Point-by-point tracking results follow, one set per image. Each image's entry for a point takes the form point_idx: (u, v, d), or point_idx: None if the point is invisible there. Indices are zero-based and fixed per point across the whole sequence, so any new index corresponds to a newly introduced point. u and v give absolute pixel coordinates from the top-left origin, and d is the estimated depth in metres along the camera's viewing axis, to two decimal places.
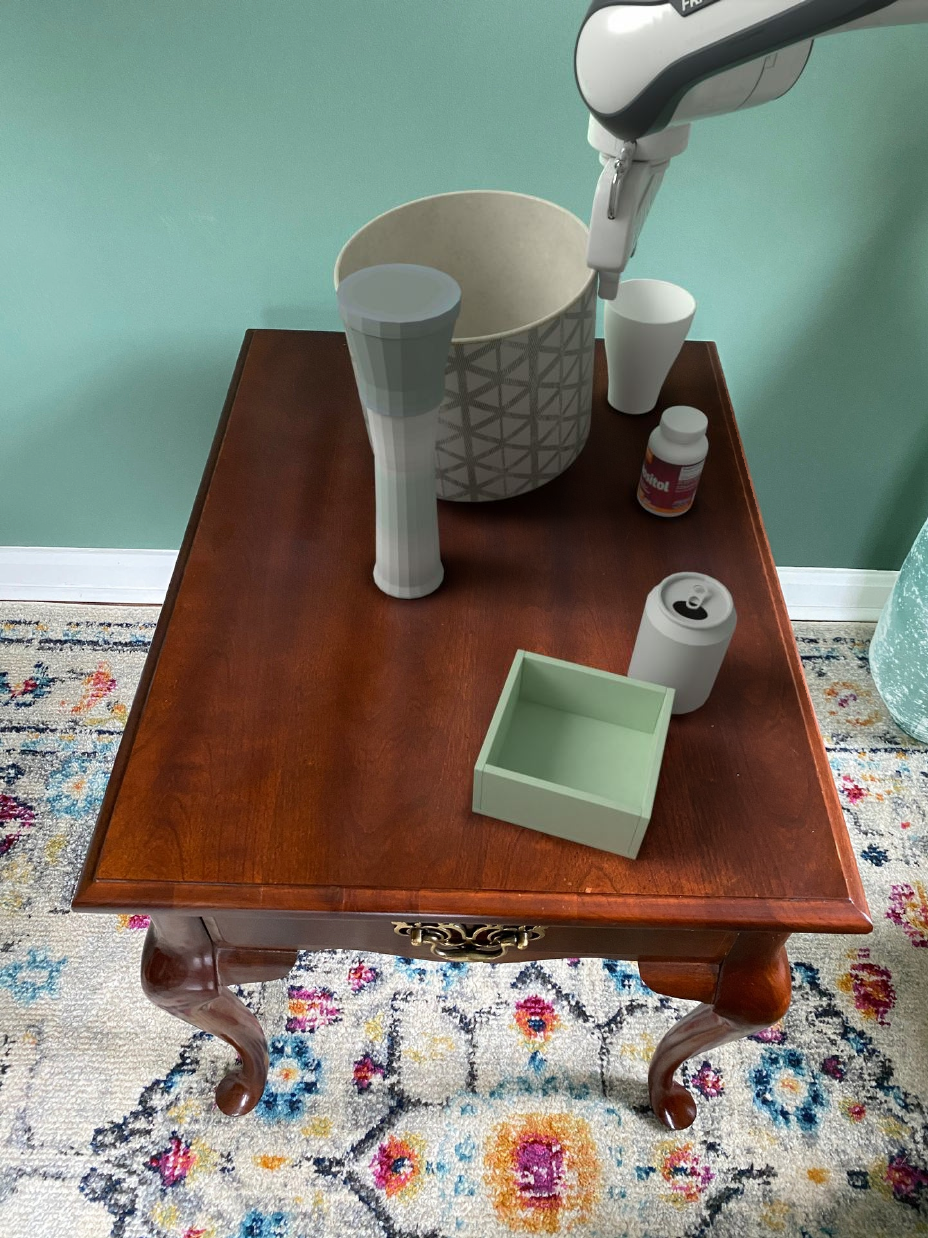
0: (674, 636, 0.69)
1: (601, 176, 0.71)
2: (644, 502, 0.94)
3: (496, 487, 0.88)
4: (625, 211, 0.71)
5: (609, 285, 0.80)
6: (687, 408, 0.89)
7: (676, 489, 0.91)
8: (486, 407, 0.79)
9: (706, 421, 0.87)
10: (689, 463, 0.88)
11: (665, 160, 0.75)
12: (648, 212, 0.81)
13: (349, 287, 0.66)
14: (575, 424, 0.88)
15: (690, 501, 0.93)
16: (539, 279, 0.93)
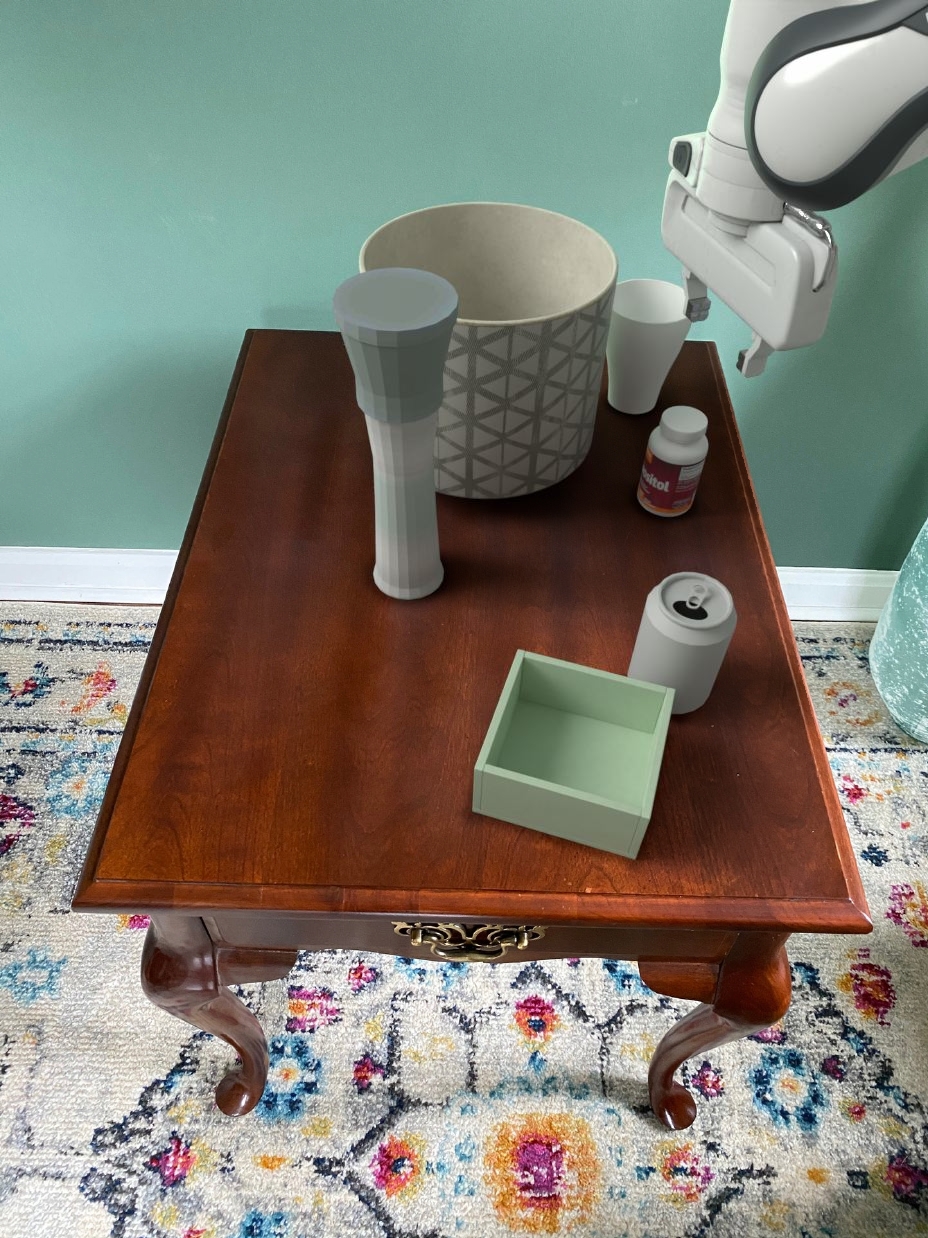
0: (674, 636, 0.69)
1: (793, 248, 0.59)
2: (644, 502, 0.94)
3: (492, 485, 0.88)
4: (831, 278, 0.60)
5: (758, 361, 0.69)
6: (687, 408, 0.89)
7: (676, 489, 0.91)
8: (492, 397, 0.80)
9: (706, 421, 0.87)
10: (689, 463, 0.88)
11: None
12: None
13: (345, 293, 0.65)
14: (577, 434, 0.89)
15: (690, 501, 0.93)
16: (557, 298, 0.95)
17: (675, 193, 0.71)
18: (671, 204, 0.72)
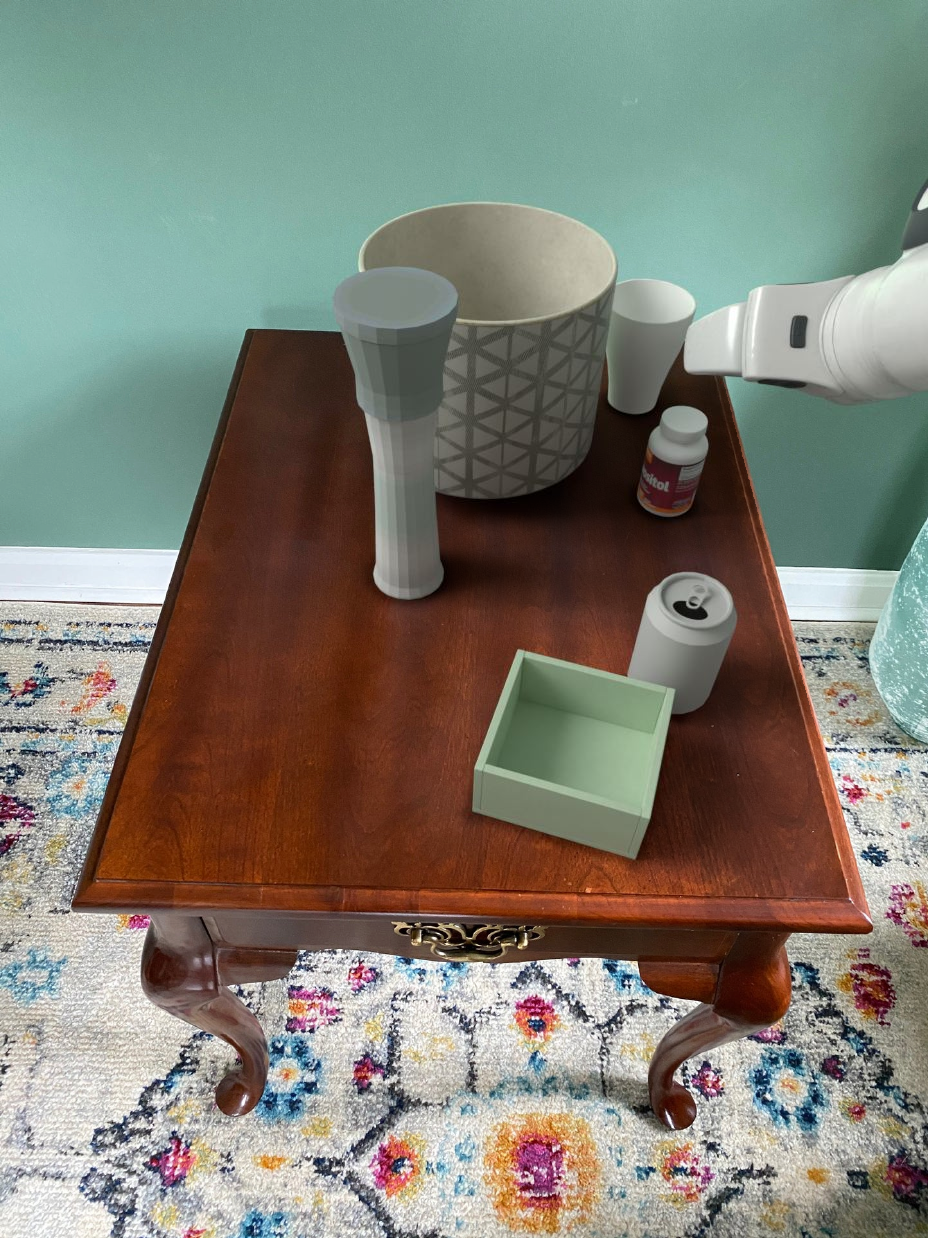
0: (674, 636, 0.69)
1: None
2: (644, 502, 0.94)
3: (492, 485, 0.88)
4: None
5: None
6: (687, 408, 0.89)
7: (676, 489, 0.91)
8: (492, 397, 0.80)
9: (706, 421, 0.87)
10: (689, 463, 0.88)
11: None
12: None
13: (345, 292, 0.65)
14: (577, 434, 0.88)
15: (690, 501, 0.93)
16: (557, 298, 0.95)
17: None
18: None
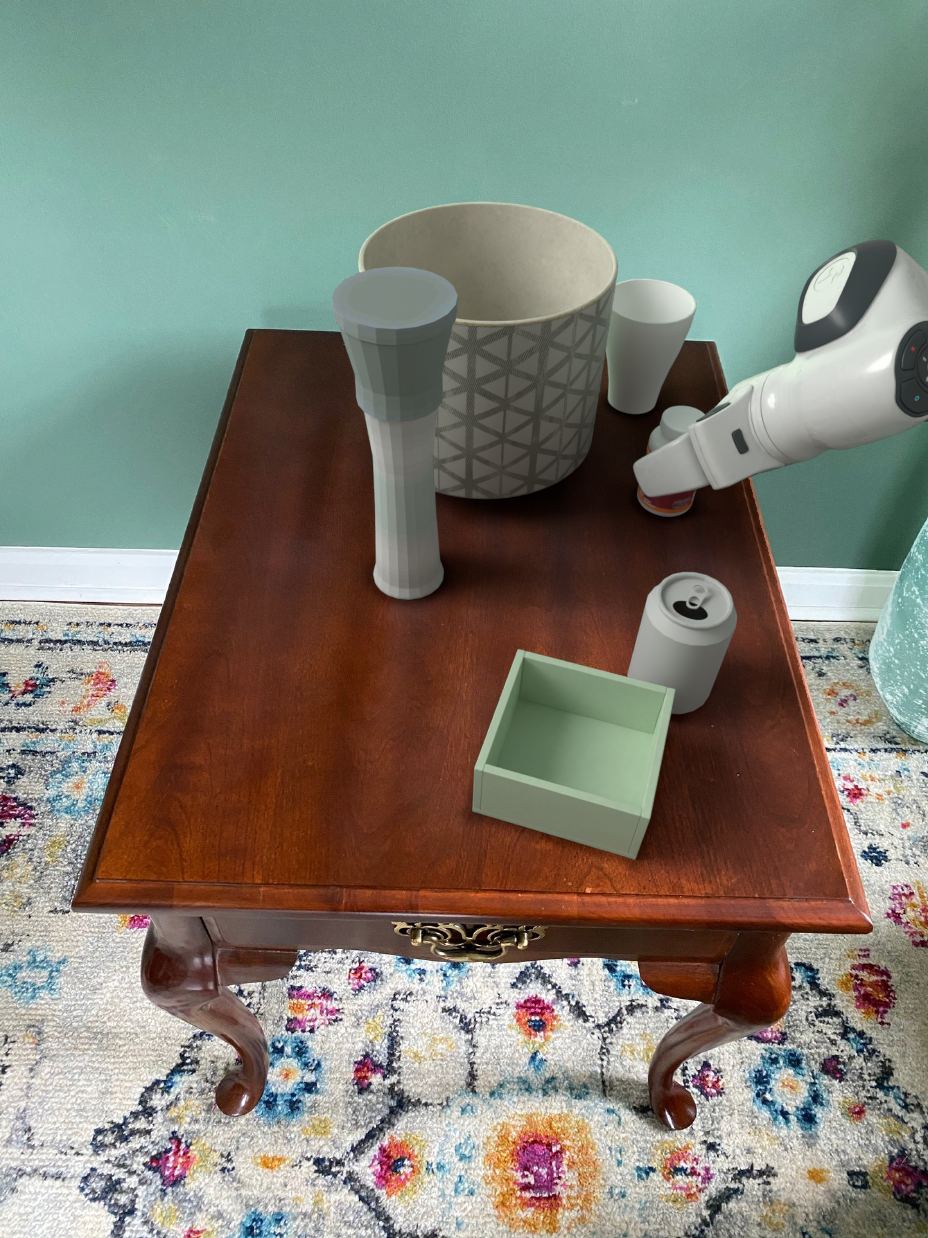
0: (674, 636, 0.69)
1: None
2: (644, 502, 0.94)
3: (491, 485, 0.88)
4: None
5: None
6: (687, 407, 0.89)
7: None
8: (492, 397, 0.80)
9: None
10: None
11: None
12: None
13: (345, 292, 0.65)
14: (577, 434, 0.88)
15: (690, 501, 0.93)
16: (557, 297, 0.95)
17: None
18: None
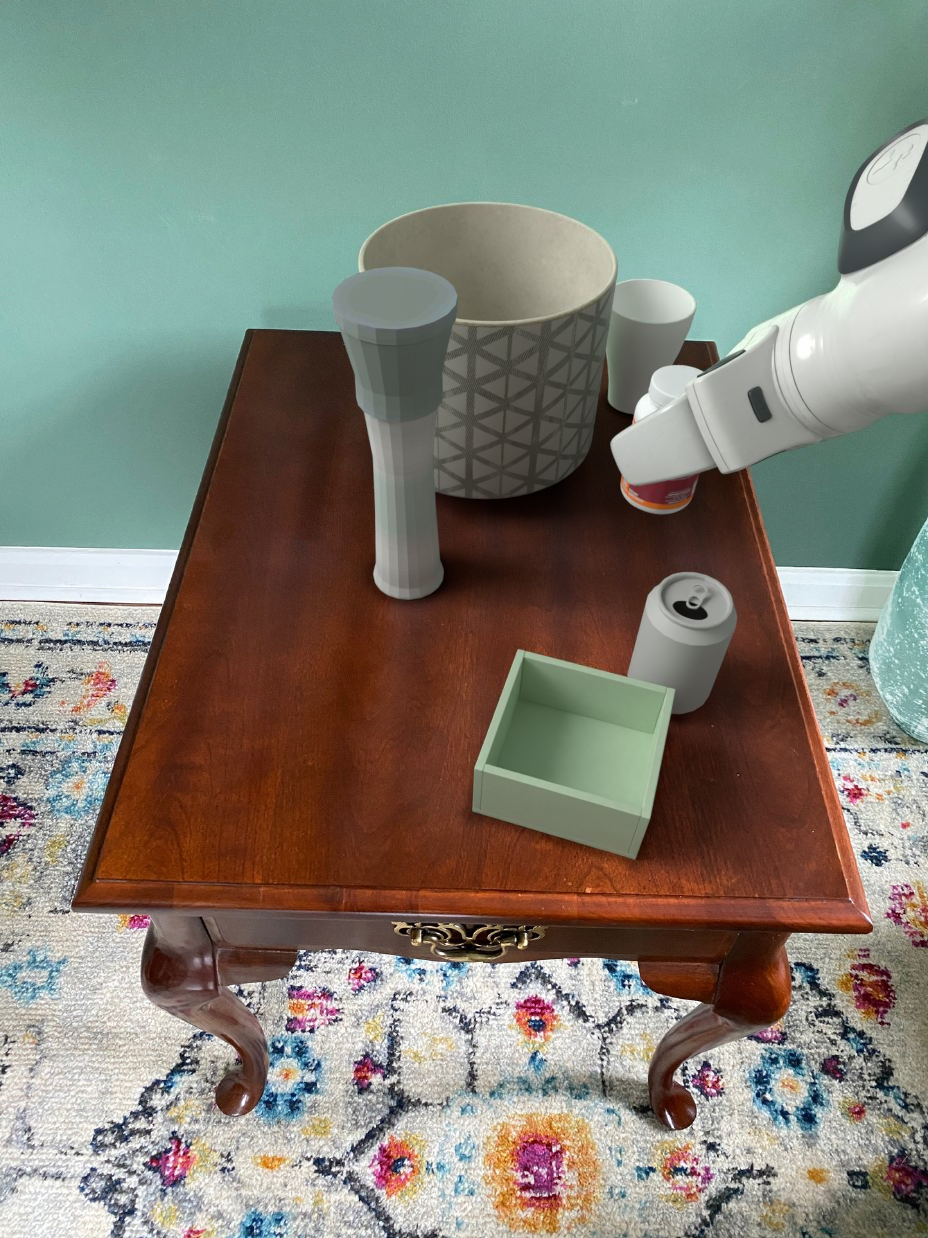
0: (674, 636, 0.69)
1: None
2: (629, 495, 0.71)
3: (491, 485, 0.88)
4: None
5: None
6: (685, 367, 0.66)
7: None
8: (492, 397, 0.80)
9: None
10: None
11: None
12: None
13: (345, 292, 0.65)
14: (577, 434, 0.88)
15: (690, 493, 0.70)
16: (557, 297, 0.95)
17: None
18: None
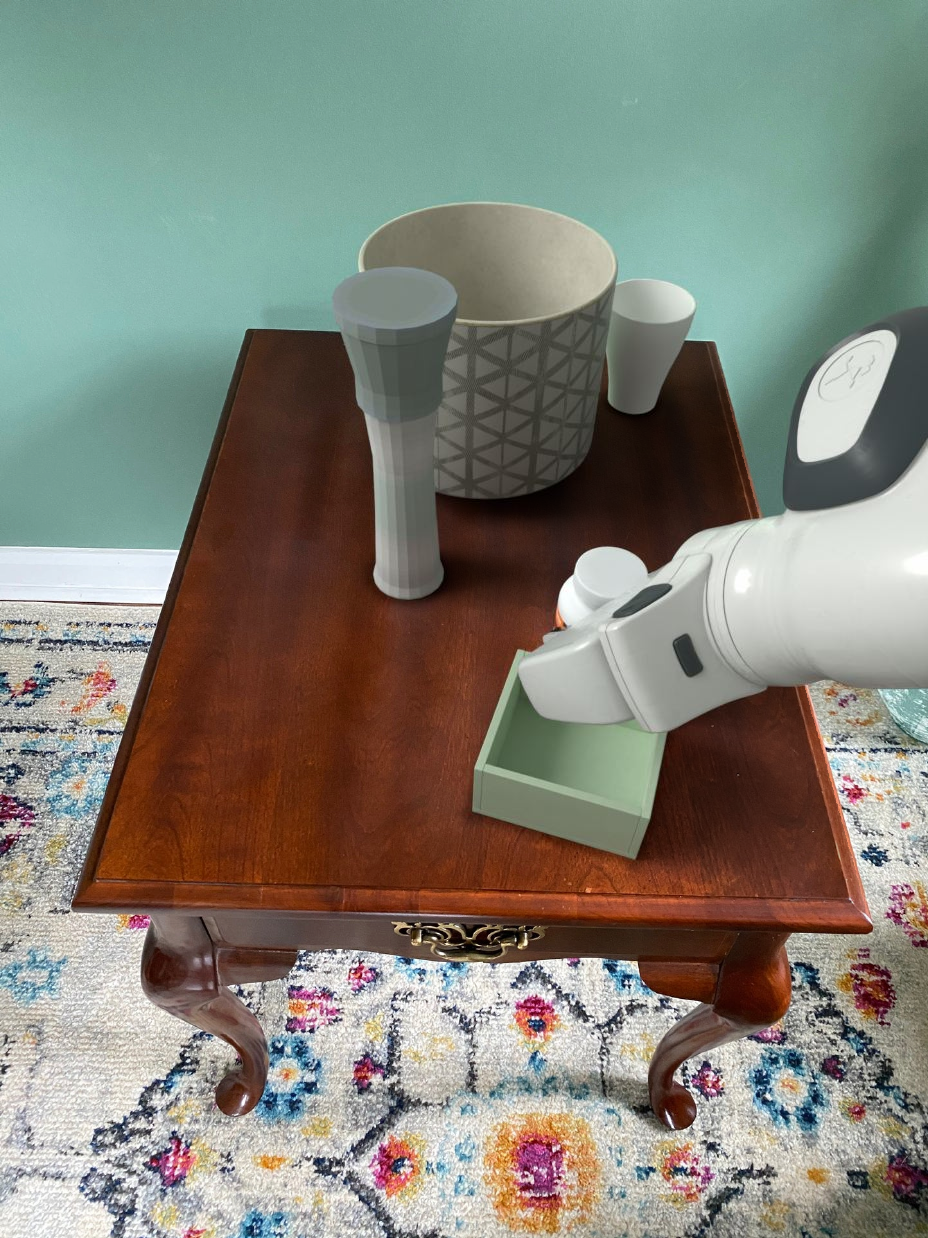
0: None
1: None
2: None
3: (491, 485, 0.88)
4: None
5: None
6: (617, 551, 0.56)
7: None
8: (492, 397, 0.80)
9: (645, 576, 0.54)
10: None
11: None
12: (612, 600, 0.53)
13: (345, 292, 0.65)
14: (577, 434, 0.88)
15: None
16: (557, 297, 0.95)
17: None
18: None
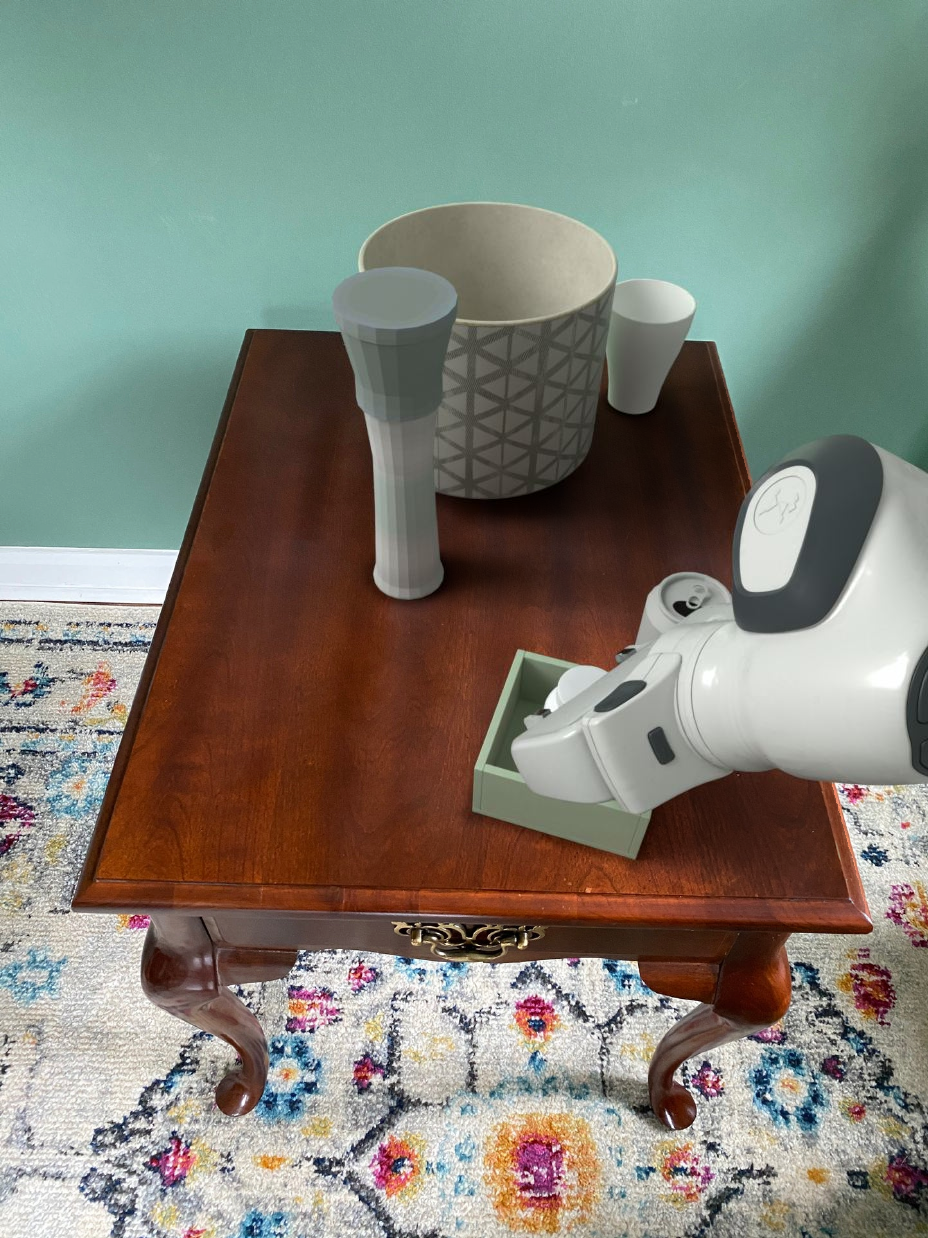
0: None
1: None
2: None
3: (491, 485, 0.88)
4: None
5: None
6: (593, 670, 0.65)
7: None
8: (492, 397, 0.80)
9: None
10: None
11: None
12: (596, 683, 0.58)
13: (345, 292, 0.65)
14: (577, 434, 0.88)
15: None
16: (557, 297, 0.95)
17: None
18: None
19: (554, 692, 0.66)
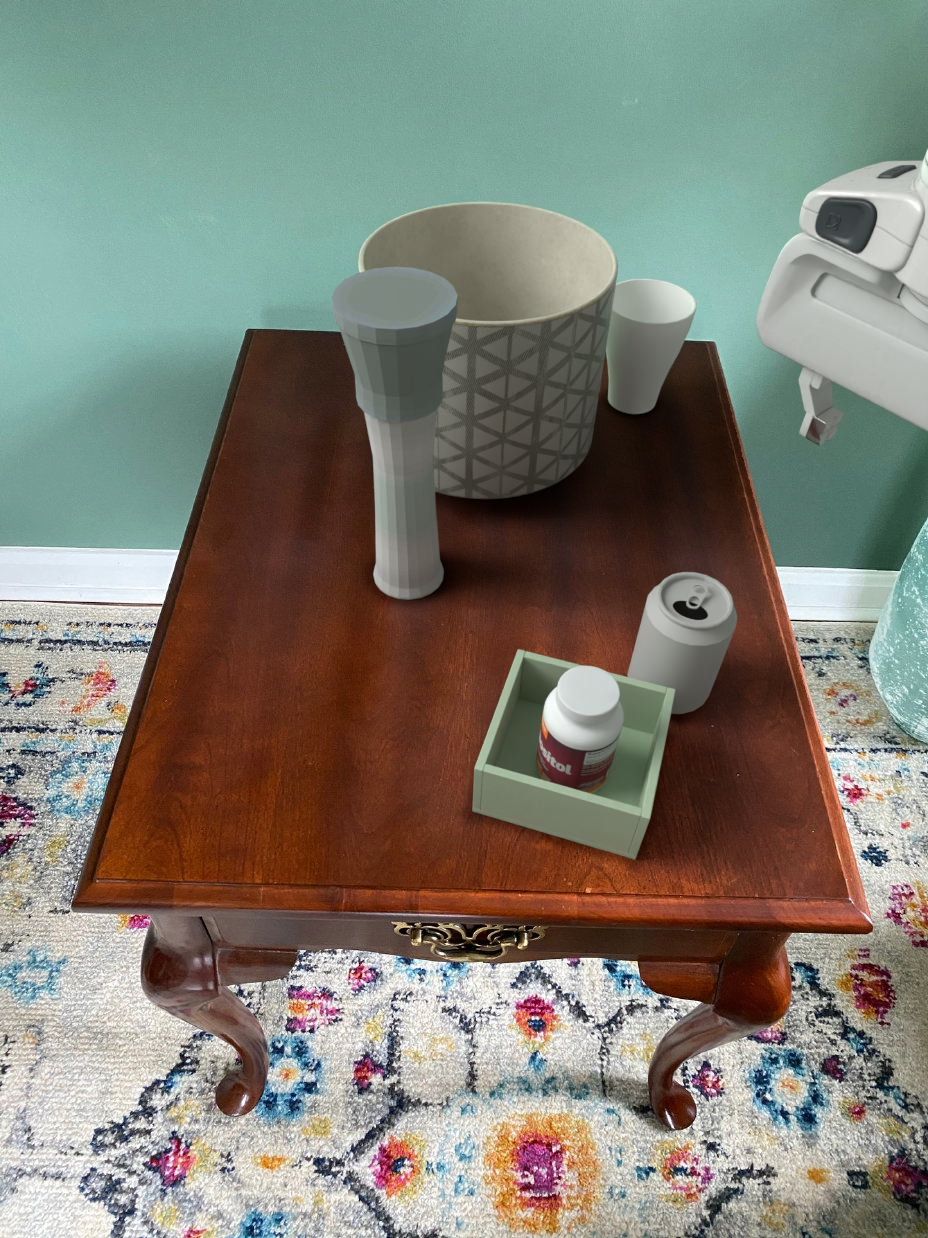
0: (674, 636, 0.69)
1: None
2: (543, 777, 0.70)
3: (491, 485, 0.88)
4: None
5: None
6: (593, 670, 0.65)
7: (581, 773, 0.67)
8: (492, 397, 0.80)
9: (618, 694, 0.63)
10: (595, 748, 0.64)
11: None
12: None
13: (345, 292, 0.65)
14: (577, 434, 0.88)
15: (604, 778, 0.69)
16: (557, 297, 0.95)
17: (800, 271, 0.46)
18: (788, 286, 0.47)
19: (554, 692, 0.66)
